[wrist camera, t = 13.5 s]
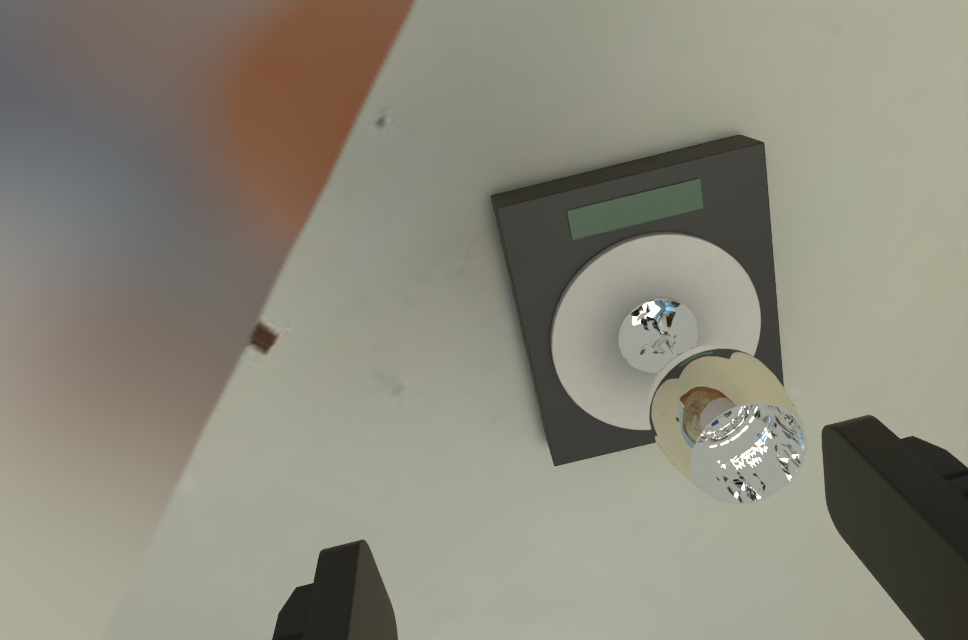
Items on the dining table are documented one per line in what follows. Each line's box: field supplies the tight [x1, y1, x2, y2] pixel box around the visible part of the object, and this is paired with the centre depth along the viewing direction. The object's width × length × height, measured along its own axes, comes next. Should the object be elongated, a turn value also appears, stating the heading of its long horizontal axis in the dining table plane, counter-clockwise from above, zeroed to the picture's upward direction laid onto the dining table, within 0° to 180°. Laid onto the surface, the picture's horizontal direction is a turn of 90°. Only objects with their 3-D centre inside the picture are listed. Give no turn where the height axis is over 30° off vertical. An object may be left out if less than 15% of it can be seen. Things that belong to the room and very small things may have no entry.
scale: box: [491, 135, 784, 466], centre depth 41 cm, size 16×14×4 cm
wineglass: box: [618, 298, 806, 504], centre depth 34 cm, size 6×6×12 cm
